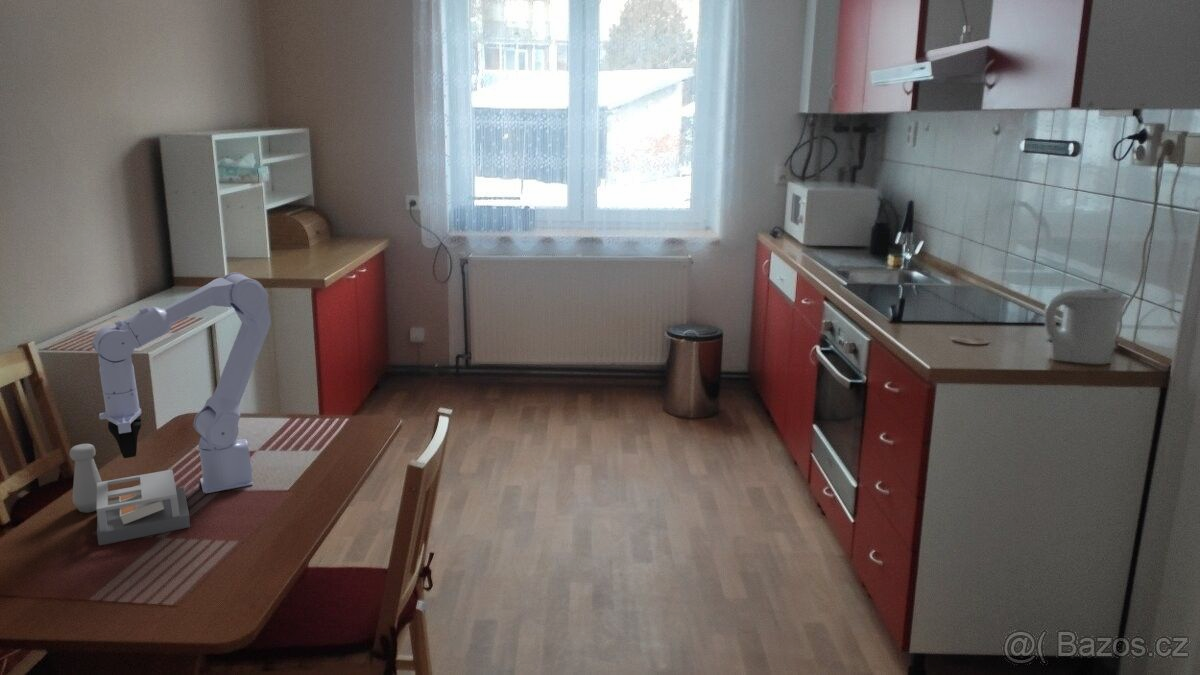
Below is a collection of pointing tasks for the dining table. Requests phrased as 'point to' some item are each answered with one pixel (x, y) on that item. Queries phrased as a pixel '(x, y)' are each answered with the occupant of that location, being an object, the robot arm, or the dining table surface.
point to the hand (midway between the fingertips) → (129, 456)
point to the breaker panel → (151, 490)
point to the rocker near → (140, 510)
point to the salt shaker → (85, 478)
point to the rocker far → (130, 497)
